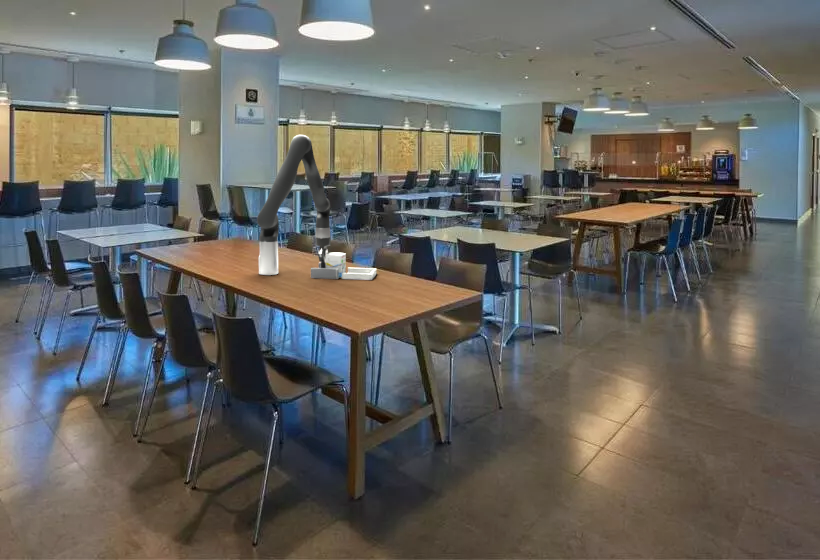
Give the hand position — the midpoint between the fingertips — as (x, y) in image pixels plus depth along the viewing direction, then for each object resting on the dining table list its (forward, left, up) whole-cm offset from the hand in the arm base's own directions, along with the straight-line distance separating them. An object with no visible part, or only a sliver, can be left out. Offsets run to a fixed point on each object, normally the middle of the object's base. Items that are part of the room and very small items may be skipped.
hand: (323, 269), depth 314 cm
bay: (+3, 0, -3) cm, 4 cm away
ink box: (+7, 0, -3) cm, 7 cm away
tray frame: (+19, 0, -3) cm, 19 cm away
